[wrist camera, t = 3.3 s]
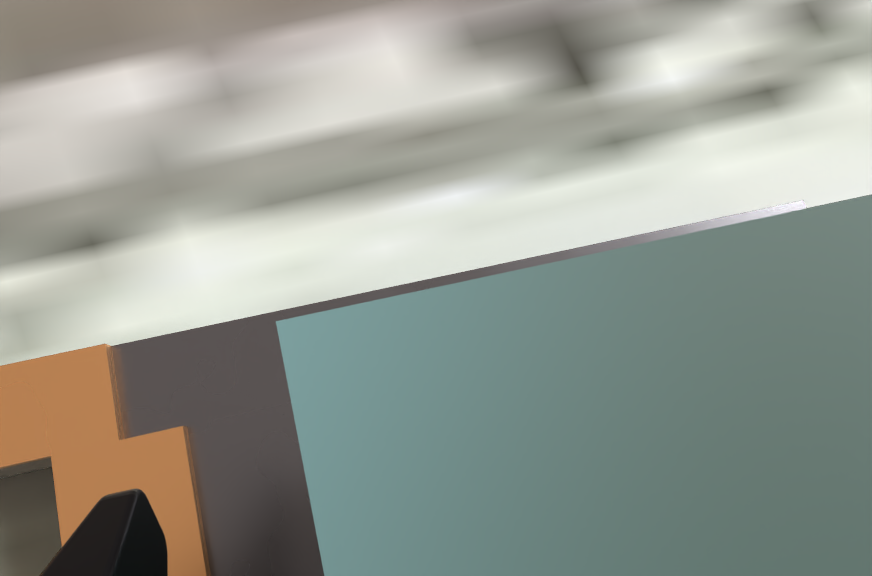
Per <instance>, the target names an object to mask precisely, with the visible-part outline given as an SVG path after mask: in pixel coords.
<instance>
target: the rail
mask: <svg viewBox="0 0 872 576" xmlns="http://www.w3.org/2000/svg"><path fill="white" fill-rule="evenodd" d="M801 209H806V205H805V202H804V200H801V201H797V202H792V203H787V204H782V205H778V206H773V207H768V208H763V209H759V210H754V211H749V212H745V213H740V214H735V215H730V216H726V217H721V218H716V219H711V220H707V221H702V222H697V223H692V224H688V225H683V226H678V227H673V228H669V229H664V230H659V231H655V232H650V233H645V234H640V235H636V236H631V237H626V238H621V239H617V240H612V241H607V242H602V243H598V244H593V245H588V246H584V247H579V248H574V249H569V250H565V251H560V252H555V253H550V254H546V255H541V256H536V257H531V258H527V259H522V260H517V261H512V262H508V263H503V264H498V265H494V266H489V267H484V268H479V269H475V270H470V271H465V272H460V273H456V274H451V275H446V276H441V277H437V278H432V279H427V280H423V281H418V282H413V283H408V284H404V285H399V286H394V287H389V288H385V289H380V290H375V291H370V292H366V293H361V294H356V295H351V296H347V297H342V298H337V299H333V300H328V301H323V302H318V303H314V304H309V305H304V306H299V307H295V308H290V309H285V310H280V311H276V312H271V313H266V314H262V315H257V316H252V317H247V318H243V319H238V320H233V321H228V322H224V323H219V324H214V325H209V326H205V327H200V328H195V329H190V330H186V331H181V332H176V333H172V334H167V335H162V336H157V337H153V338H148V339H143V340H138V341H134V342H129V343H124V344H119V345H115V346H110V345H107V344H102V345H97V346H92V347H88V348H83V349H78V350H73V351H69V352H64V353H59V354H54V355H50V356H45V357H40V358H35V359H31V360H26V361H21V362H16V363H12V364H7V365H2V366H0V479H1V478H6V477H10V476H14V475H19V474H23V473H27V472H32V471H36V470H41V469H45V468H49V467H52V470H53V478H54V486H55V495H56V503H57V511H58V520H59V528H60V536H61V545H62V546H63V545H64V544H65V543H66V541H67V540H68V539H69V538H70V536H71V535H72V534H73V532H74V531H75V530H76V529H77V527H78V526H79V525H80V524H81V522H82V521H83V520H84V518H85V517H86V516H87V515H88V513H89V512H90V511H91V509H92V508H93V507H94V506H95V504H96V503H97V502H98V501H99V500H100V499H101V498H102V497H103V496H105V495H108V494H112V493H116V492H121V491H125V490H130V489H140V490H142V491H143V492H144V493H145V495H146V496H147V498H148V500H149V503H150V505H151V507H152V509H153V511H154V513H155V515H156V518H157V520H158V522H159V524H160V526H161V528H162V530H163V533H164V535H165V539H166V544H167V554H168V576H324V571H323V566H322V561H321V555H320V550H319V545H318V540H317V534H316V529H315V524H314V519H313V514H312V508H311V503H310V498H309V493H308V487H307V482H306V477H305V472H304V466H303V461H302V456H301V451H300V446H299V440H298V435H297V430H296V425H295V419H294V414H293V409H292V404H291V399H290V393H289V388H288V383H287V378H286V372H285V367H284V362H283V357H282V351H281V346H280V341H279V336H278V331H277V325H276V321H280V320H285V319H289V318H294V317H299V316H303V315H308V314H313V313H318V312H322V311H327V310H332V309H336V308H341V307H346V306H350V305H355V304H360V303H364V302H369V301H374V300H379V299H383V298H388V297H393V296H397V295H402V294H407V293H411V292H416V291H421V290H426V289H430V288H435V287H440V286H444V285H449V284H454V283H458V282H463V281H468V280H472V279H477V278H482V277H487V276H491V275H496V274H501V273H505V272H510V271H515V270H519V269H524V268H529V267H534V266H538V265H543V264H548V263H552V262H557V261H562V260H566V259H571V258H576V257H580V256H585V255H590V254H595V253H599V252H604V251H609V250H613V249H618V248H623V247H627V246H632V245H637V244H642V243H646V242H651V241H656V240H660V239H665V238H670V237H674V236H679V235H684V234H688V233H693V232H698V231H703V230H707V229H712V228H717V227H721V226H726V225H731V224H735V223H740V222H745V221H749V220H754V219H759V218H764V217H768V216H773V215H778V214H782V213H787V212H792V211H796V210H801Z"/></svg>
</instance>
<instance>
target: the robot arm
mask: <svg viewBox="0 0 872 576" xmlns="http://www.w3.org/2000/svg"><path fill="white" fill-rule="evenodd" d="M40 576H168V554H167V544H166V539H165V535H164V533H163V530H162V528H161V526H160V524H159V522H158V520H157V518H156V515H155V513H154V511H153V509H152V507H151V505H150V503H149V500H148V498H147V496H146V495H145V493H144V492H143V491H142V490H140V489H130V490H125V491H121V492H116V493H112V494H108V495H105V496H103V497H102V498H101V499H100V500H99V501H98V502H97V503H96V504H95V506H94V507H93V508H92V509H91V511H90V512H89V513H88V515H87V516H86V517H85V518H84V520H83V521H82V522H81V524H80V525H79V526H78V527H77V529H76V530H75V531H74V532H73V534H72V535H71V536H70V538H69V539H68V540H67V541H66V543H65V544H64V545H63V546H62V548H61V549H60V550H59V552H58V553H57V554H56V555H55V557H54V558H53V559H52V560H51V562H50V563H49V564H48V566H47V567H46V568H45V569H44V571H43V572H42V573H41V575H40Z"/></svg>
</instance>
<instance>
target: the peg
mask: <svg viewBox="0 0 872 576" xmlns="http://www.w3.org/2000/svg"><path fill="white" fill-rule="evenodd" d="M276 325H277V331H278V336H279V341H280V346H281V351H282V357H283V362H284V367H285V372H286V378H287V383H288V388H289V393H290V399H291V404H292V409H293V414H294V419H295V425H296V430H297V435H298V440H299V446H300V451H301V456H302V461H303V466H304V472H305V477H306V482H307V487H308V493H309V498H310V503H311V508H312V514H313V519H314V524H315V529H316V534H317V540H318V545H319V550H320V555H321V561H322V566H323V571H324V576H872V195H867V196H862V197H857V198H853V199H848V200H843V201H839V202H834V203H829V204H825V205H820V206H815V207H811V208H806V209H801V210H796V211H792V212H787V213H782V214H778V215H773V216H768V217H764V218H759V219H754V220H749V221H745V222H740V223H735V224H731V225H726V226H721V227H717V228H712V229H707V230H703V231H698V232H693V233H688V234H684V235H679V236H674V237H670V238H665V239H660V240H656V241H651V242H646V243H642V244H637V245H632V246H627V247H623V248H618V249H613V250H609V251H604V252H599V253H595V254H590V255H585V256H580V257H576V258H571V259H566V260H562V261H557V262H552V263H548V264H543V265H538V266H534V267H529V268H524V269H519V270H515V271H510V272H505V273H501V274H496V275H491V276H487V277H482V278H477V279H472V280H468V281H463V282H458V283H454V284H449V285H444V286H440V287H435V288H430V289H426V290H421V291H416V292H411V293H407V294H402V295H397V296H393V297H388V298H383V299H379V300H374V301H369V302H364V303H360V304H355V305H350V306H346V307H341V308H336V309H332V310H327V311H322V312H318V313H313V314H308V315H303V316H299V317H294V318H289V319H285V320H280V321H276Z"/></svg>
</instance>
